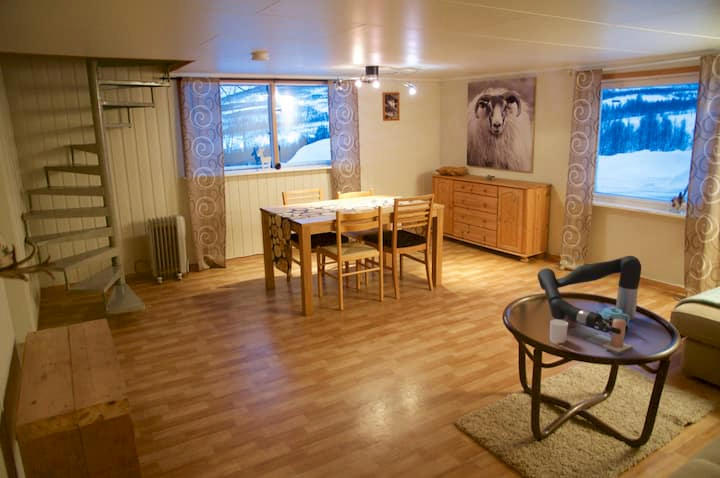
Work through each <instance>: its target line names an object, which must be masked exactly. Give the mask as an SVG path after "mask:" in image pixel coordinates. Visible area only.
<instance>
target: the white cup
mask: <svg viewBox="0 0 720 478" xmlns="http://www.w3.org/2000/svg"><path fill="white" fill-rule="evenodd" d="M549 323H550V325H549V342H550V343H551V342H552V343H551V344H553V343H554V345H556V344H563V343H565V342H566V339H567V335H568V333H567V330H569V322H567V321H566V320H564V319H562V320H558V319H555V318H553V319H551V320H550V321H549Z"/></svg>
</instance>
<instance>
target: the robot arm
mask: <svg viewBox="0 0 720 478" xmlns="http://www.w3.org/2000/svg"><path fill="white" fill-rule="evenodd" d="M614 274H620V276H619V280H618V287H617V296H616V303H615V304H616V305H615V308H616V309H617V308H621V310H622V311H623V313H624V314H627V315H628V316H629V317H630V320H629V321H633V320H635V318H636V312H637V303H638V300H637V298H638V291H639V286H640V281H641V274H642V264H641V262H640V259H639V258H638V257H636V256H635V255H634V256H633V255H626V256H622V257H620V258H616V259H613V260H612V259H611V260H609V261H600V262H595V263H588V264H582V265H579V266H577V267H575V268H574V269H573V270H572V271H571V272H569V274H567V275H566V276H563V277H560V278H556V274H555V272H554V270H553V269H552V268H543V269H541V270H539V271H538V273H537V279H538V282H539V286H540V289H542V290H543V291H544V292H545V297H546V300H547V303H548V305H549V309H550V314H551V317H552V318H553V319H558V320H565V318H567V319H568V320H569V321H571V322H573V323H577V324H579V325H582V326H585V327H587V328H590V329H593V330H596V331H599V332H603V333H606V334H607V333H612V332H613V333H616V334H621V330H620V329H617V328H614V327H612V324H613V318H609V320H608V319H603V318H602V315H601V314H600V313H599V312H598V313H596V312H594V311H591V310H588V309H582V308H579V307H576V306H574V305H573V304H571V303H569V302H568V301H567V300H564V299H563V297H562V295H561V293H560V291H559V288H563V287H567V286H571V285H576V284H582V283H589V282H594V281H598V280H601V279H604V278H606V277H608V276H610V275H614ZM625 319H626V321H627V319H628V318H627V317H626V316H625ZM627 325H628V324H627ZM627 325H626V326H625V332H626V331H629V329H630V327H629V326H630V325H629V326H627Z"/></svg>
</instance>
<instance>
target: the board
mask: <svg viewBox="0 0 720 478" xmlns="http://www.w3.org/2000/svg"><path fill="white" fill-rule="evenodd" d="M567 334H570V335H572V336H574V337H577V338H579V339H581V340H584V341H586V342H589V343H591V344H594V345H597V346H599V347H602V348H603V349H606V352H608V353H610V354H613V355H615V354H616V356H618V354H619V355H622V354H624V353H627V352H629V351H632V350H634V349H633V348H634V347H633V346H632V345H630V344H627V343H625V342H624V344H623V347H622V348H617V347H613V346H611V337H609V336H606V335H604V334H601V333H598V332H596V331H592V330H590V329H588V328H584V327H582V326H576V327H573V328H568V329H567Z"/></svg>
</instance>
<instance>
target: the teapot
mask: <svg viewBox="0 0 720 478" xmlns="http://www.w3.org/2000/svg"><path fill="white" fill-rule="evenodd" d="M599 311H601V312H600V313H599ZM595 313H598V314H601V315H602V318H603V319H608V320H609V318H613V319H623V320H625V321H626V325H627V326H629V328H631V325H629V322H630V321H631V320H630V317H629V316H628V315H627V314H624V313H623V311H622V310H621V308H617V309H616V306H610V307H605V308H597V309H596V310H595ZM625 316H626V317H627V318H628V319H627V320H626V319H625ZM612 326H613V324H612Z"/></svg>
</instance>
